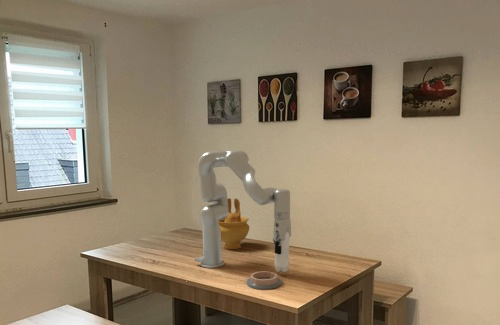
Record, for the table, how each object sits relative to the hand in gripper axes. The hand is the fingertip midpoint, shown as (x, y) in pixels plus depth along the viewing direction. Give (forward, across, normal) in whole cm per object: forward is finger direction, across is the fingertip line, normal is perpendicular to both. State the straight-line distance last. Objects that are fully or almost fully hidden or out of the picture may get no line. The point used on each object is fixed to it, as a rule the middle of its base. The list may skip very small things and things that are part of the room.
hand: (281, 251), depth 191 cm
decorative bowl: (+13, +32, +51) cm, 62 cm away
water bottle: (+10, 0, 0) cm, 10 cm away
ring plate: (+11, -14, +2) cm, 18 cm away
